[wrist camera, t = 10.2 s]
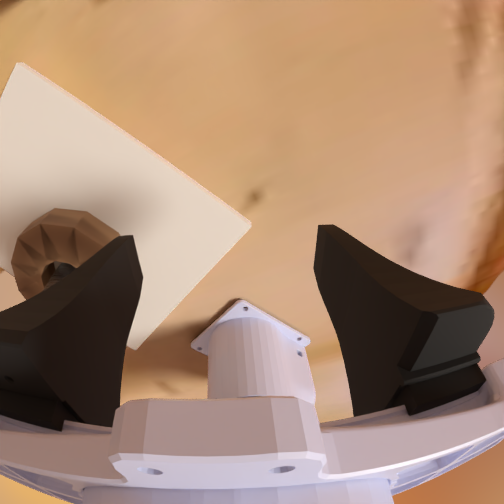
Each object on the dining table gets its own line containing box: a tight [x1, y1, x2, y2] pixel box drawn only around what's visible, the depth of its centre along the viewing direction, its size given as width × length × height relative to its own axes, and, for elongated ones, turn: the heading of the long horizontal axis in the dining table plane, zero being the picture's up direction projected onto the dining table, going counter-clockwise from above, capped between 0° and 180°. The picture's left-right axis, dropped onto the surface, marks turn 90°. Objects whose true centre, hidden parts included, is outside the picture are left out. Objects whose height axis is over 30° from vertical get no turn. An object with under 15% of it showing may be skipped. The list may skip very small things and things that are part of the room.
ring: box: [11, 208, 120, 300], centre depth 22 cm, size 11×11×2 cm
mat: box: [0, 62, 252, 350], centre depth 21 cm, size 22×18×1 cm
